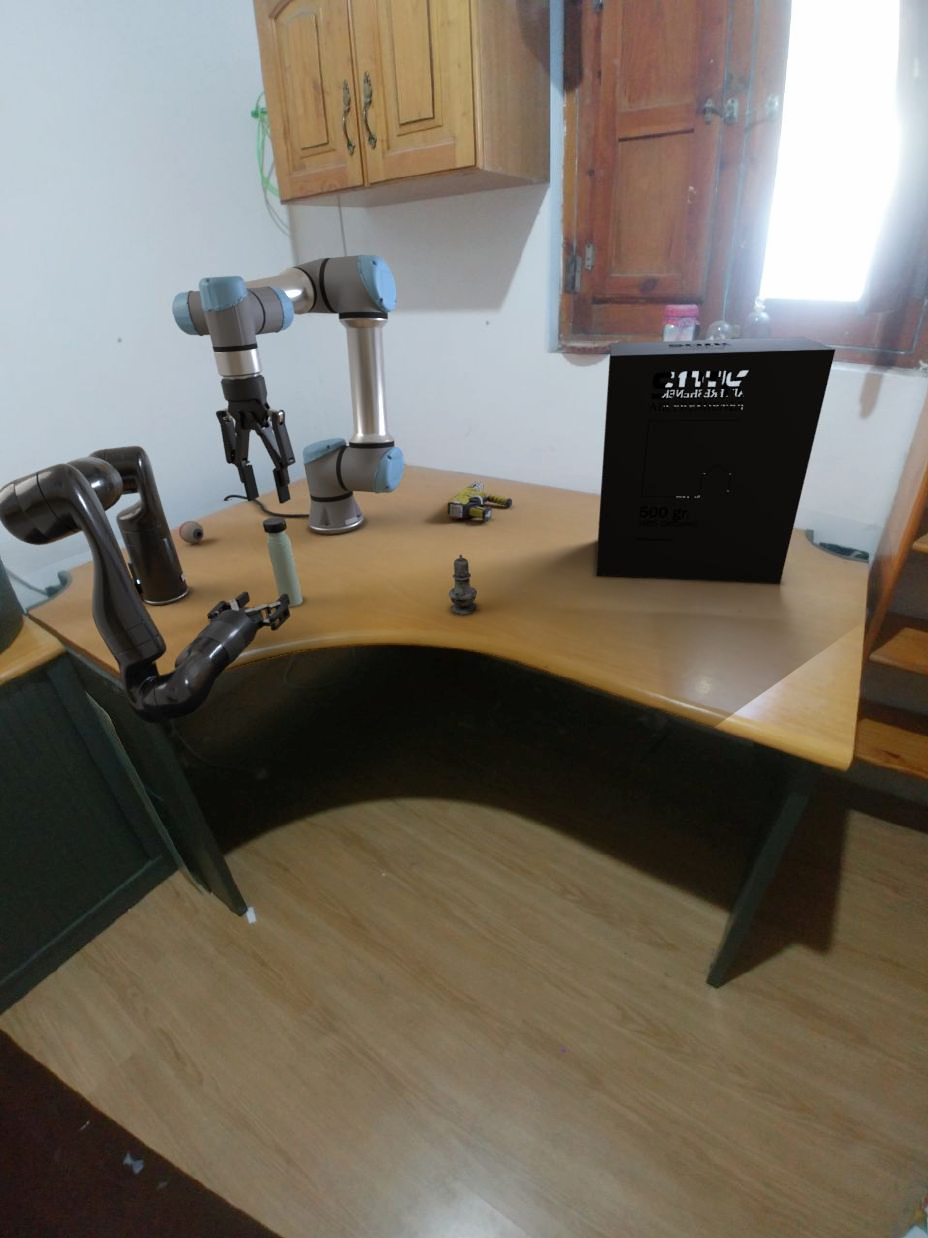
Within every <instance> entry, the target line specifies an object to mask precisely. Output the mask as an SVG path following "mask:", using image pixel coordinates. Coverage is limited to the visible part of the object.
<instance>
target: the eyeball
mask: <svg viewBox="0 0 928 1238" xmlns="http://www.w3.org/2000/svg"><path fill="white" fill-rule="evenodd" d="M178 533H179V537H180V539H181V540H183V541H184V542H185V543H188V544H192V545H193V544H197V543H200V542H201V541H202V539H203V538H204V536H205V535H204V534H205V532H204V528H203V526H202V525H201V524H200V523H198V522H196V521H194V520H188V521H185V522H184V523H182V524H181V525H180V526H179V529H178Z"/></svg>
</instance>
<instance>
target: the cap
mask: <svg viewBox="0 0 928 1238" xmlns="http://www.w3.org/2000/svg"><path fill="white" fill-rule="evenodd" d="M262 527H263V531H264V533H266V534H268V533H271V534H272V533H279V532H282V531H284V532H285V531H286V530H287V529H288V526H287V521H286V518H285V517H279V516H274V517H269V518H266V519H264V520H263V521H262Z"/></svg>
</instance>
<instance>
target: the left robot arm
mask: <svg viewBox="0 0 928 1238" xmlns="http://www.w3.org/2000/svg"><path fill="white" fill-rule="evenodd" d="M133 494H138V495H139V498H140V499H138V500H137V501H136V502H135V503H134V504H132V505H130V506H127V507H125V508H124V509H122V510H121V511H119V512H118V513H117V514H116V516H115V522H116V524H117V528H118V529H119V532H120V535H121V538H122V541H123V544H124V546H125V549H126V553H127V555H128V557H129V560H128V561H127V563H126V560H125V557H124V555H123V553H122V550H121V547H120V545H119V543H118V540H117V538H116V535H115V532H114V530H113V528H112V525H111V523H110V521H109V518H108V515H107V514H106V512H107V511H108V510H110V509H111V508H113V507H114V506H115V505H117V503H118V502H119V501H120V499H121V498H122V496H124V495H133ZM163 507H164V506H163V504H162V500H161V497H160V494H159V490H158V487H157V482H156V478H155V474H154V470H153V467H152V462H151V460H150V457H149V455H148V453H147V452H146V450H145V448H143V447H142V446H140V445H127V446H118V447H110V448H109V447H108V448H102V449H98V450H95V451H93V452H90V453H89V454H88V455H87V456H85V457H80V458H76V459H72V460H70V461H67V462H65V463H57V464H54V465H51V466H48V467H45V468H42V469H41V470H38V471H35V472H32V473H30V474H27V475H25V476H22V477H20V478H16V479H14V480H12V481H10V482H8V483H7V484H4V485H3V486H2V487H1V488H0V522H1V524H2V526H3V527H4V528H5V530H6V531H7V532H8V533H9V534H11V536H13V537H14V538H15V539H17V540H19V541H21V542H23V543H26V544H29V545H34V546H45V545H49V544H52V543H55V542H58V541H60V540H63V539H66V538H68V537H71V536H73V535H76V534H78V533H80V532H81V533H83V535H84V537H85V539H86V541H87V543H88V546H89V549H90V552H91V556H92V557H91V558H92V565H93V568H92V569H93V579H92V593H91V594H92V595H91V612H92V613H91V614H92V618H93V622H94V625H95V628H96V629H97V632H98V633H99V636H100V637H101V638H102V640H103V642H104V644H105V645H106V647H107V649H108V650H109V653H111V655H112V657H113V658H114V660H115V662H116V663H117V666H118V671H119V676H120V679H121V682H122V686H123V689H124V693H125V696H126V700H127V702H128V705H129V707H130V709H131V710H132V712H133V713H134V714H135V715H136V716H137V717H138V718H139V719H141V720H142V721H144V722H146V723H149V724H159V723H164V722H167V721H171V720H175V719H179V718H182V717H185V716H188V715H191V714H192V713H194V712H196V711H197V710H198V709H199V708H200V707H201V706H202V705H203V704H204V703H205V702H206V701H207V698H208V696H209V694H210V692H211V690H212V688H213V686H214V684H215V680H216V679H217V678H218V677H219V676H221V675H222V673H223V672H225V670H226V669H227V668H228V667H229V666H230V665H231V664H232V663H234V662H235V661H236V660H237V659H238V658H239V657H240V656H241V655H242V653H243V652H244V651H245V650H246V649H247V648H248V647H249V646H250V644H251V643H252V642H253V641H254V640H255V638H256V635H257V633H258V631H259V630H261V629H263V628H264V627H270V630H271V631H273V632H274V631H277V630H278V629H279V628H280V627H282V625H283V624H284V623H285V622H286V621H287V620H288V619H289V618H290V617H291V612H290V607H288V605H289V604H290V600H289V596H288V595H287V594H282V595H281V596H280V597H279V596H278V598H277V599H276V601H275V602H273V603H270V604H267V603H263V604H260V605H258V606H254V607H253V606H252V607H248V606H247V604H249V602H250V601H251V598H250V594H249V591H243V592H242V593H240V594H238V595H237V596H236V597H235V598H233V599H230V600H229V601H226V600H220V601H218V602H217V603H216V605H215V606H213V608H212V609H211V610H210V611H209V612H208V613H207V614H206V616H207V621H208V624H207V625H206V626H205V627H204V628H203V629H202V630H200V632H199V633H198V634H197V635H196V637H195V638H194V639H193V640H192V641H191V642H190V643H189V644H188V645H186V647H185V648H184V649H183V650H182V651H181V652H180V653H179V654H178V656H177V657H176V658H175V661H174V669H173V670H171V671H170V672H167V673H163V674H160V671H159V667H158V663H157V661H158V660H159V659H160V658H162V657H163V656H164V655H165V653H166V652H167V644H166V642H165V640H164V637H163V636H162V634H161V632H160V630H159V629H158V626H157V625H156V623H155V621H154V620H153V618H152V616H151V614H150V613H149V611H148V610H147V608H146V606H145V604H147V605H149V606H165V605H169V604H172V603H175V602H178V601H181V600H182V599H184V598H185V597H186V596H187V595H188V594H189V593H190V589H189V586H188V583H187V581H186V573H185V571H183V567H182V565H181V562H180V558H179V554H178V552H177V549H176V546H175V542H174V538H173V536H172V532H171V529H170V527H169V523H168V520H167V517H166V514H165V511H164V508H163ZM144 603H145V604H144ZM274 609H275V611H274V612H272V610H274ZM262 611H264V613H265V617H264V615H263V612H262Z"/></svg>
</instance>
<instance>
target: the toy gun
mask: <svg viewBox="0 0 928 1238" xmlns="http://www.w3.org/2000/svg"><path fill="white" fill-rule="evenodd" d="M487 502H488V503H493V504H496V505H500V506H504V507H506V508H510V507H511V506H512V505H513V499H512V498H509V497H504V496H500V495H499V496H498V495H494V494H492V493H490V494H489V495H488V496H487V495H486V492H485V483H484V482H483V481H480V482H479V481H477V480H474V482H473V483H471V484H470V485H468V486H467V487H465V488H464V489H462V491H460V492H459V493H458V494H456V496H454V497H453V498H452V499H451V500H449V501H448V502H447V505H446V514H447V516H448V517H451V518H452V519H455V520H458V519H459V518H460V519H467V518H471V517H475V518H479V519H482V522H484V523H485V522H487V521H488V520H491V518H492V512H493V507H492V506H485V505H484V504H486V503H487Z"/></svg>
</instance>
